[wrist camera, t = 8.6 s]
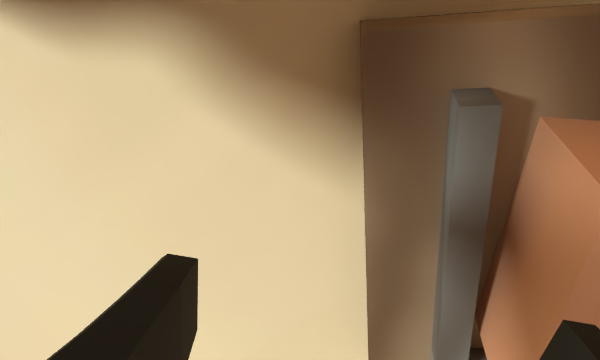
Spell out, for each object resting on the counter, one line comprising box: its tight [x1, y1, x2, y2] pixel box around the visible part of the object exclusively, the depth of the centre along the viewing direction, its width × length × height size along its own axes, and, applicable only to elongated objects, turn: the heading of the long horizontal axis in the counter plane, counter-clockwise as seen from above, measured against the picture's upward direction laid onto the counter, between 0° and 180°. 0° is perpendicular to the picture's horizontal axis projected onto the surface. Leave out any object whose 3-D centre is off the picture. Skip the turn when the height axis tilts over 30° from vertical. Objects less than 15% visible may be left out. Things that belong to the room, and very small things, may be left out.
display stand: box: [360, 4, 600, 360], centre depth 17 cm, size 14×16×3 cm
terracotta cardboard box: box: [474, 116, 600, 360], centre depth 15 cm, size 4×9×5 cm, turn 178°
